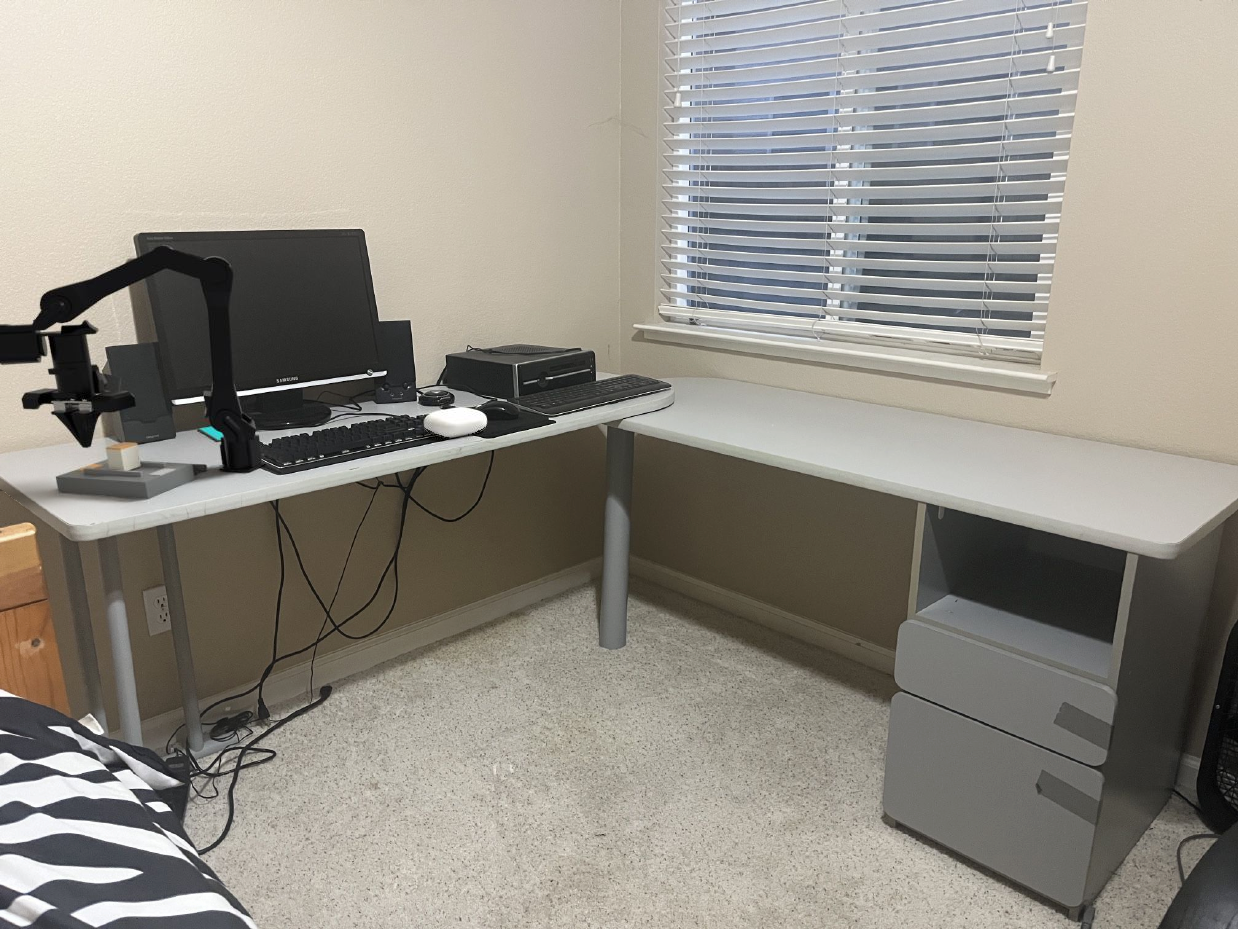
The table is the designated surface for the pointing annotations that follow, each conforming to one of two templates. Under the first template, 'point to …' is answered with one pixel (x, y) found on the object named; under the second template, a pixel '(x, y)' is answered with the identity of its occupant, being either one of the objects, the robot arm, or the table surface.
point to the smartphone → (211, 433)
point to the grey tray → (125, 479)
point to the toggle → (123, 456)
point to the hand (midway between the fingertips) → (86, 447)
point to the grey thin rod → (201, 467)
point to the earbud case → (455, 422)
